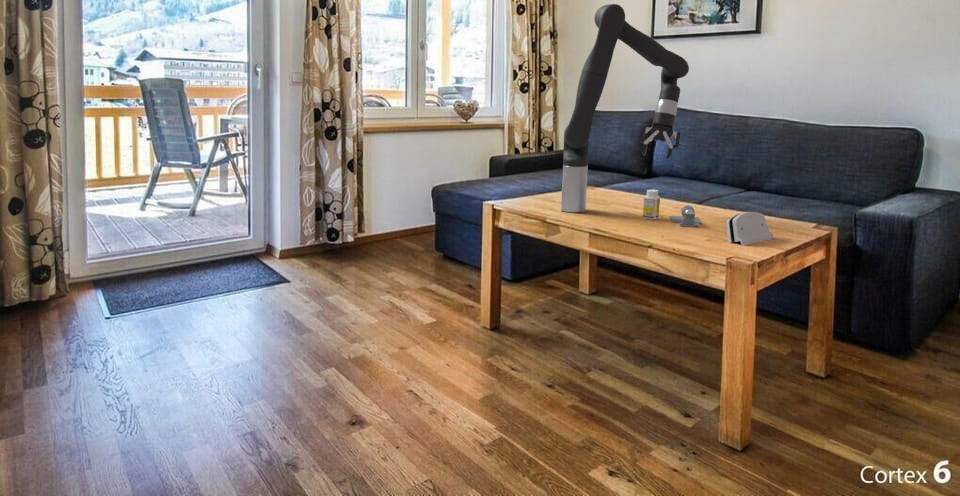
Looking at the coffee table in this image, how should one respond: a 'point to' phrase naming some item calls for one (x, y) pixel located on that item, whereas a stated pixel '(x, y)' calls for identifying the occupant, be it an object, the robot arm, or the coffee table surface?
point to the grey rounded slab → (748, 228)
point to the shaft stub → (688, 217)
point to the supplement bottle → (651, 205)
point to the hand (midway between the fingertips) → (655, 157)
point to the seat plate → (681, 219)
